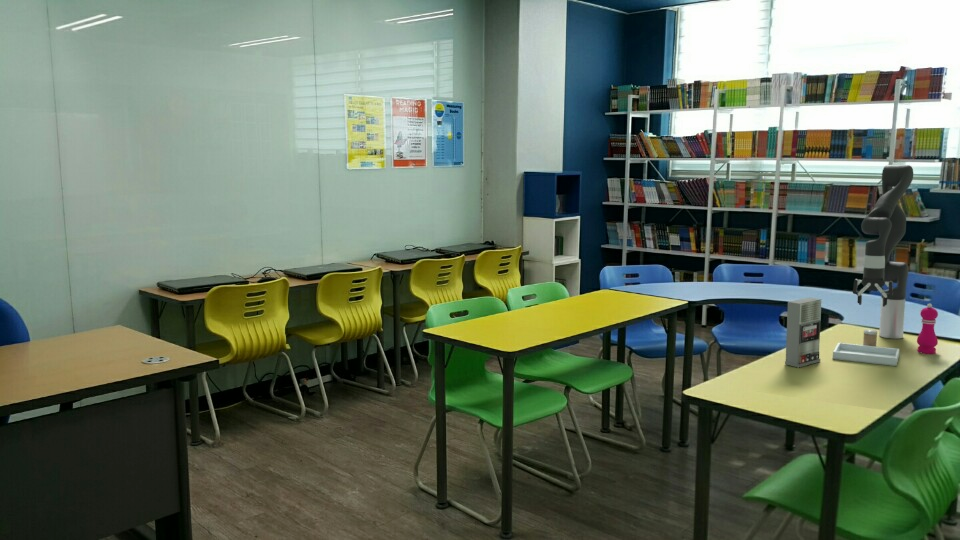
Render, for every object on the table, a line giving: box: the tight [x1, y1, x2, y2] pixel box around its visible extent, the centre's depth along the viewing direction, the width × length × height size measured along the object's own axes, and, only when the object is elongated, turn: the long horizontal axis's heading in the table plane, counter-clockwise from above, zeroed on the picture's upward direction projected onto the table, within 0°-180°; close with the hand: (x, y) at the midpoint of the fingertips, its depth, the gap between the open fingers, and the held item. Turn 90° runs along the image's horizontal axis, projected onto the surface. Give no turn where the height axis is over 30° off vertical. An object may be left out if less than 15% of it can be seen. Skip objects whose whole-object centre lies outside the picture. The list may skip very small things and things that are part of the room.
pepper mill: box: [916, 303, 939, 355], centre depth 291 cm, size 7×7×20 cm
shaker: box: [862, 328, 878, 347], centre depth 298 cm, size 5×5×8 cm
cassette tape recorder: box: [784, 297, 822, 369], centre depth 279 cm, size 14×6×25 cm, turn 122°
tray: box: [832, 342, 900, 367], centre depth 287 cm, size 16×22×3 cm
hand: (871, 305), depth 296 cm, fingers open, 8 cm apart
